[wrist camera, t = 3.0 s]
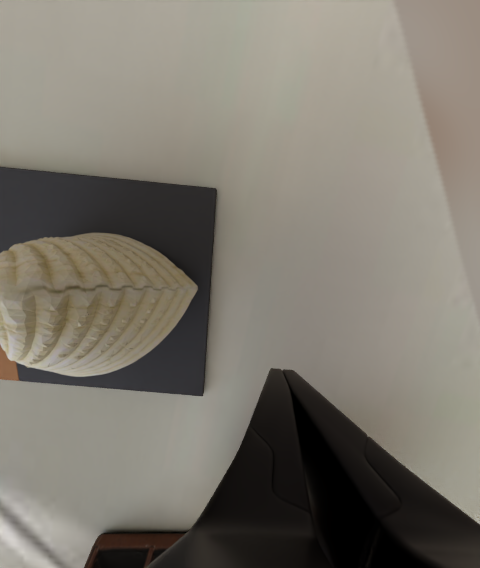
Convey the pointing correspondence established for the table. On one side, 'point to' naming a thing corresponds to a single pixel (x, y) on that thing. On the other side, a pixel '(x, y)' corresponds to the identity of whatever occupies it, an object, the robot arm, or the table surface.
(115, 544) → the letter holder
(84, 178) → the desk pad
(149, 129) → the table surface
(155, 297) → the seashell
